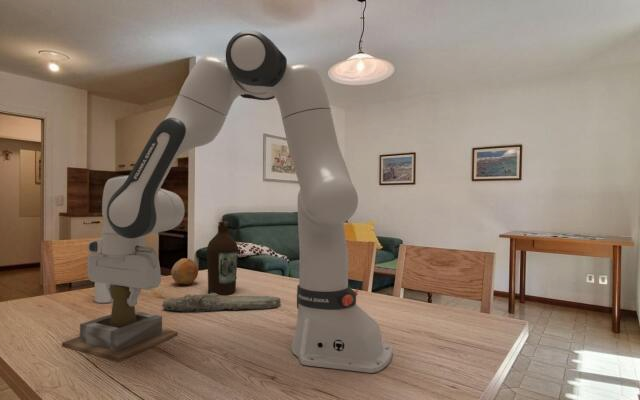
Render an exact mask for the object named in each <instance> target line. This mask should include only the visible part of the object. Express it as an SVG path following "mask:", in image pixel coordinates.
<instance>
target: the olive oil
mask: <svg viewBox="0 0 640 400" xmlns="http://www.w3.org/2000/svg"><path fill="white" fill-rule="evenodd" d="M228 231H229V225H228V221H218V225H217V233H216V234H214V236H213V237H212V238H211V240H210V241H209V242H208V244H207V247H206V258H207V262H206V263H207V294H210V293H216V294H218V295H222V296H230V295H233V294H235V293H236V291H237V290H236V289H237V286H236V285H237V268H238V256H239V254H238V253H239V248H238V243H237V242H236V240H235V238H234V237H232V236H231V234H230V233H229V232H228Z"/></svg>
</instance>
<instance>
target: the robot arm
mask: <svg viewBox="0 0 640 400" xmlns="http://www.w3.org/2000/svg"><path fill="white" fill-rule="evenodd" d="M287 61H288V60H287V57H286V56H285V54H284V53H282V51H281V50H280V49H279V48H278V47H277V45H276V44H275V43H274V42H273V41H272V40H271V39H270V38H269V37H267V36H266V35H265V34H263V33H261V32H260V31H257V30H250V29H247V30H242V31H240V32H238V33H235V34H234V35H233V36H232V37H231V38H230V39H229V41H228V43H227V45H226V49H225V59H224V58H221V57H219V56H214V55H206V56H202V57H200V58H199V59H198V60H197V61H196V63H195V64H194V65H193V67H192V68H191V70H190V72H189V73H188V75H187V77H186V79H185V80H184V83H183V85H182V86H181V88H180V91H179V94H178V95H177V98H176V100H175V102H174V105H173V106H172V108H171V110H170V111H169V112H168V114H167V115H166V116H165V118H164V119H163V120H162V121H161V122H160V123H159V124H158V125H157V126H156V127H155V129H154V130H153V132H152V133H151V134H150V137H149V138H148V140H147V143H145V146H144V147H143V150H142V151H141V153H140V154H139V156H138V158H137V160H136V162H135V163H134V166H132V167H133V168H132V169H131V171H130V173H129V174H126V175H124V174H123V175H116V176H113V177H111V178H109V179H108V180H107V181H106V182H105V184H104V188H103V191H102V192H103V193H102V204H101V211H102V212H101V214H102V218H103V227H102V231H101V237H100V238H97V239H95V240H92V241H90V242H87V245H86V250H87V252H89V253H88V256H87V266H86V267H87V269H86V270H87V277H88V280H89V281H90V282H93V283H95V282H98V283H105V284H106V289H107V291H108V293H109V295H110V302H109V303H110V304H113V299H112V297H111V289H112V287H113V286H115V285H118V286H125V287H129V292H131V294H130V296H129V298H127V299H126V302H127V303H126V305H127V306H134V307H135V306H137V305H138V297H139V296H140V294H141V292H142V290H146V291H149V290H152V289H155V288H159V286H160V284H161V283H162V277H161V267H160V259H159V255H158V253H157V252H156V250H155V249H154V248H153V247H150V246H148V247H146V236H147V235H150V234H156V233H157V234H158V233H161V232H167V231H170V230H173V229H176V228H177V227H179V226H180V225H181V223H182V222H183V220H184V218H185V216H186V206H185V203H184V200H183V198H182V197H181V196H180V195H179V194H177V193H176V192H173V191H170V190H167V189H164V188H161V187H162V185H163V184H164V182H165V180H166V178H167V176H168V174H169V173H170V170H171V168H172V166H173V165H174V164H175V162H176V161H177V160H178V158H179V157H180V156H181V155H183V154H184V153H187V152H188V151H190V150H193V149H195V148H198V147H202V146H205V145H208V144H210V143H212V142H213V141H214V140H215V138H216V137H217V136H218V135H219V133H220V131H221V130H222V128H223V126H224V124H225V121H226V119H227V116H228V114H229V113H230V109H231V107H232V105H233V103H234V102H235V100H236V99H237V98H239V96H240V97H242V98H244V99H251V100H258V101H270V100H274V99H275V100H276V101H277V104H278V107H279V111H280V116H281V119H282V120H281V121H282V125H283V129H284V135H285V138H286V139H285V140H286V143H287V149H288V153H289V157H290V159H291V162H292V164H293V167H294V171H295V174H296V178H297V181H298V185H299V191H298V193H297V194H298V195H297V226H298V227H297V228H298V243H299V244H298V245H299V267H298V268H299V269H298V271H299V272H298V273H299V274H298V275H299V276H298V279H299V280H298V281H299V283H298V285H297V286H296V287H297V290H296V308H297V315H296V316H297V317H296V324H295V328H294V330H295V331H294V334H293V338H292V342H291V345H290V350H291V352H292V354H294V355H295V356H296V357H297V358H298V360H299V363H300V364H301V365H304V366H309V367H317V368H327V369H335V370H344V371H351V372H352V371H353V372H360V373H369V374H371V373H372V374H373V373H378V372H380V371H381V370H384V369H385V368H386V367H387V366H388V365H389V364H390V362H391V360H392V358H393V349H392V347H391V345H390V344H389V343H388V342H384V341H383V338H382V332H381V328H380V325H379V324H378V322H377V321H376V320H375V319H374V318H373V317H371V316H370V315H369V314H368V313H367V312H366V311H364V309H362V308H361V307H360V306H359V305H358V304H357V296H358V295H359V293H358V291H359V290H358V289H355V290H354V289H352V288H351V287H350V285H349V248H348V246H347V239H346V231H345V230H346V229H345V223H346V222H348V221H349V220H350V219H351V218H352V217H353V215H354V214H355V213H356V211H357V208H358V205H359V197H358V192H357V190H356V188H355V187H354V184H353V182H352V180H351V176H350V173H349V171H348V167H347V164H346V161H345V159H344V157H343V155H342V151H341V149H340V145H339V143H338V138H337V137H338V136H337V133H336V127H335V124H334V119H333V115H332V110H331V106H330V101H329V98H328V94H327V92H326V89H325V86H324V83H323V81H322V78H321V76H320V73H319V71H318V70H317V69H316V68H315V67H313V66H312V65H310V64H306V63H296V64H288V63H287Z"/></svg>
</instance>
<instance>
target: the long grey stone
mask: <svg viewBox="0 0 640 400" xmlns="http://www.w3.org/2000/svg"><path fill="white" fill-rule="evenodd" d="M162 302H163V303H162V307H163V308H164V309H166V310H167V311H176V312H183V313H185V312H187V313H188V312H189V313H191V312H193V313H194V312H195V313H200V312H202V313H203V312H215V311H218V312H220V311H223V310H226V309H227V310H233V311H238V310H250V311H251V310H252V311H253V310H257V311H258V310H265V309H266V310H269V309H276V308H279V307H281V298H280V297H276V296H269V295H239V296H238V295H235V296H230V295H223V296H222V295H218V294H216V293H210V294H209V293H207V294H206V293H205V294H193V295H191V294H186V295H184V296H180V297H168V298H167V299H164V300H163V301H162Z"/></svg>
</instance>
